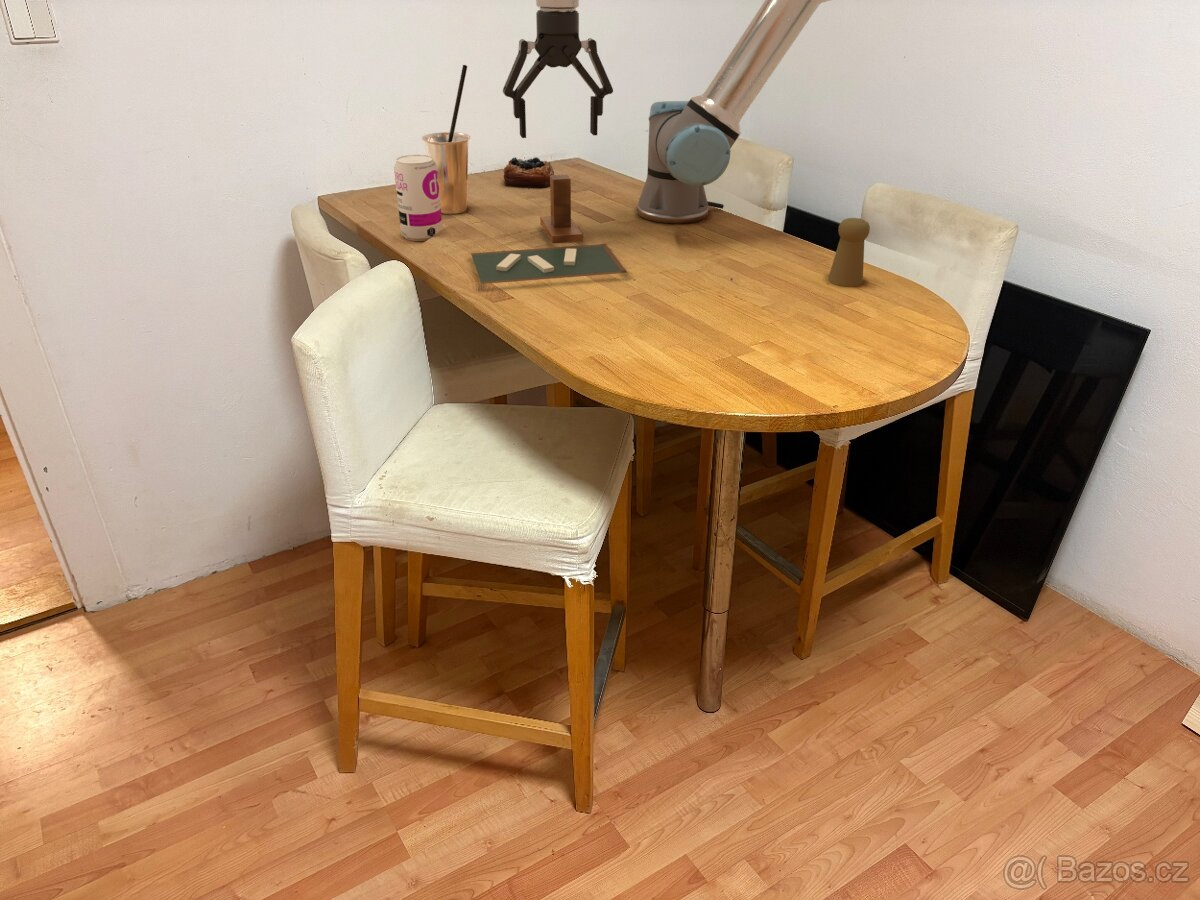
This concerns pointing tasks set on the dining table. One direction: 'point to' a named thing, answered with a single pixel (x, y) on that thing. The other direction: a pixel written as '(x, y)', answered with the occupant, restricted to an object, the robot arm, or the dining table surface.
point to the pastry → (528, 173)
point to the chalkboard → (586, 263)
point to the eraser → (560, 212)
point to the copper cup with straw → (451, 161)
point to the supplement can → (418, 197)
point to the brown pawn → (850, 253)
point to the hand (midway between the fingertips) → (558, 135)
